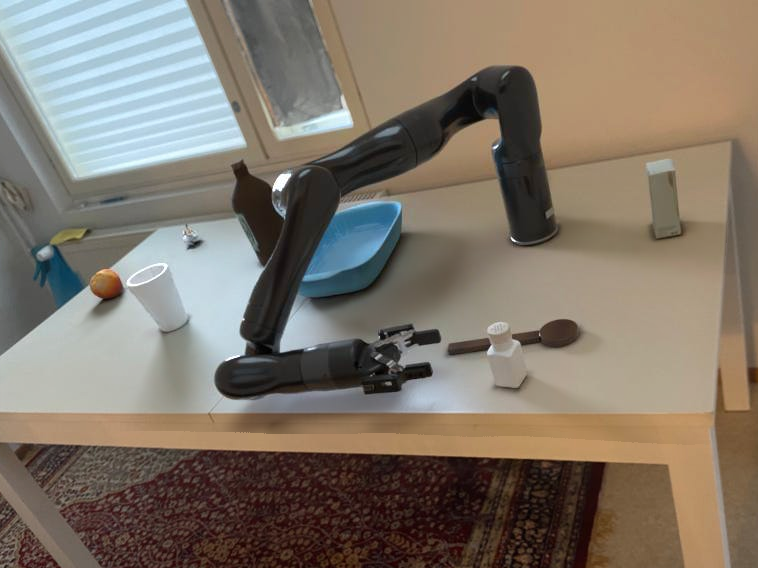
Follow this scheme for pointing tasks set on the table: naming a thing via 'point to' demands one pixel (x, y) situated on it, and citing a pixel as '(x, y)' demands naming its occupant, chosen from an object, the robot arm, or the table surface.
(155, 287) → the foam cup
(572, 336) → the wooden spoon
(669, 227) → the cosmetic box
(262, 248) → the olive oil
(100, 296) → the fruit
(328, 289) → the casserole dish
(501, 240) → the table surface
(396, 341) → the robot arm
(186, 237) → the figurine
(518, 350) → the salt shaker
